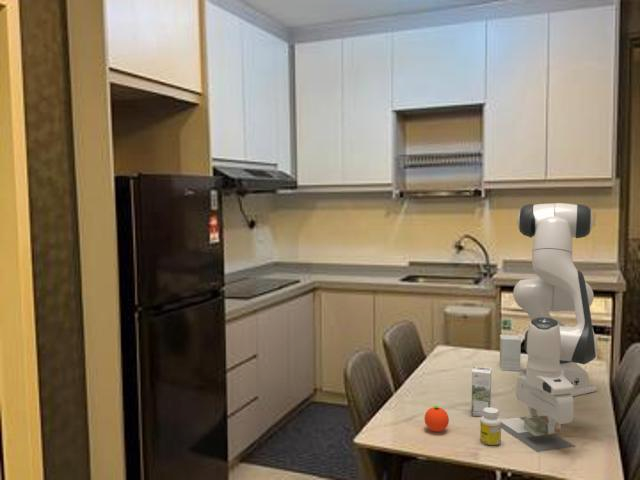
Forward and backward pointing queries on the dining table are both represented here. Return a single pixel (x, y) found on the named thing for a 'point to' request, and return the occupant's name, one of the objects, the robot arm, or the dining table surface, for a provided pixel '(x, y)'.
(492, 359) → the dining table surface
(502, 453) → the dining table surface
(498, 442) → the supplement bottle
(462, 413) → the dining table surface
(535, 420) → the shiny reflective rectangular block
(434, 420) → the clementine
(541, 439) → the mat
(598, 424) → the dining table surface
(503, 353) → the supplement box
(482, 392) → the syrup box
